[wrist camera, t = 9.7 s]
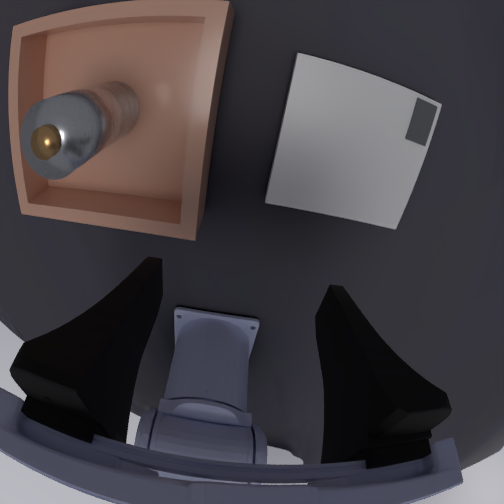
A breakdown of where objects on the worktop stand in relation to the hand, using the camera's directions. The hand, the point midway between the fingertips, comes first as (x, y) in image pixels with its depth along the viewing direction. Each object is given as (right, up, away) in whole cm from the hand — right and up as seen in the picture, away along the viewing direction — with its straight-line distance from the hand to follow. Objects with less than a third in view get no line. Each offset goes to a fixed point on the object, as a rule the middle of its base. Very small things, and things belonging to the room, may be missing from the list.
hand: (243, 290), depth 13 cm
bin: (-9, +11, +4) cm, 15 cm away
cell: (-9, +11, +3) cm, 14 cm away
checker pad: (+7, +8, +5) cm, 12 cm away
